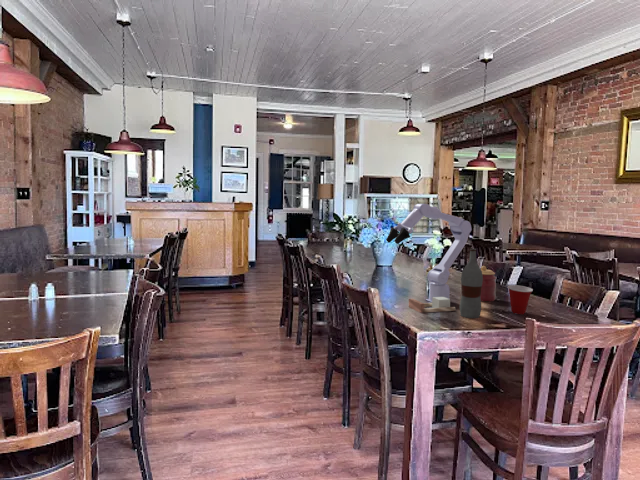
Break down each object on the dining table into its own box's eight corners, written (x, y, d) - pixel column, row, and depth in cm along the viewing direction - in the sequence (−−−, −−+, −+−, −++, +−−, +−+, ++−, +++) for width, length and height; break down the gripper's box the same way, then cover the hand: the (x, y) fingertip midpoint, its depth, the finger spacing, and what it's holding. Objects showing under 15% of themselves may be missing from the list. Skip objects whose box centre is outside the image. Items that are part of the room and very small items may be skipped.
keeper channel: (441, 305, 230) (442, 297, 229) (454, 310, 219) (455, 302, 219) (408, 307, 225) (408, 298, 224) (420, 312, 214) (420, 303, 213)
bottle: (485, 316, 209) (488, 249, 206) (474, 319, 203) (477, 250, 200) (466, 312, 216) (469, 247, 213) (455, 315, 210) (458, 248, 207)
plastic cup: (520, 316, 210) (522, 290, 209) (501, 311, 219) (502, 286, 218) (536, 314, 215) (538, 288, 214) (517, 309, 224) (518, 284, 223)
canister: (479, 302, 238) (481, 267, 236) (464, 297, 250) (465, 264, 249) (500, 301, 242) (502, 267, 241) (484, 296, 254) (486, 263, 253)
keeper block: (443, 306, 227) (443, 296, 226) (449, 309, 221) (450, 299, 221) (431, 307, 225) (432, 297, 225) (438, 310, 219) (439, 299, 219)
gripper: (397, 215, 234) (379, 234, 231) (413, 216, 220) (394, 236, 217) (405, 226, 236) (387, 245, 233) (421, 227, 222) (403, 247, 219)
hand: (391, 241), depth 225 cm, fingers open, 7 cm apart
